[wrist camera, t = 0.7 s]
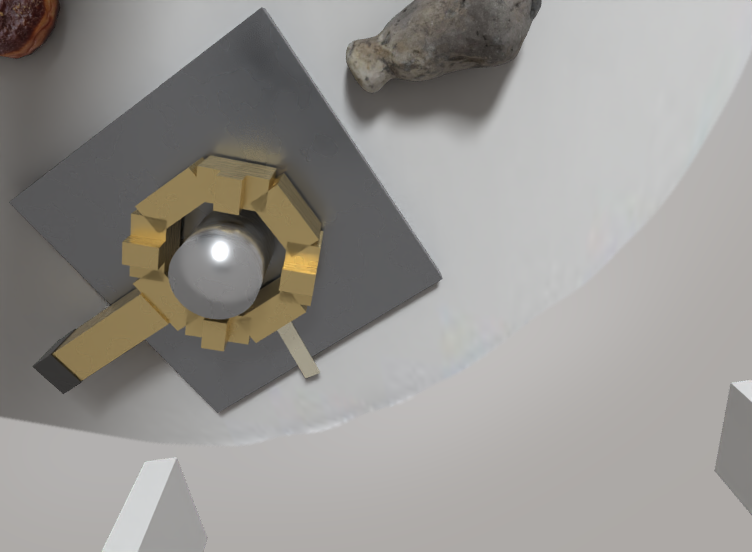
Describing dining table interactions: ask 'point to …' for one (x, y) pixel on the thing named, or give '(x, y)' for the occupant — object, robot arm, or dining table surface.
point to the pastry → (25, 25)
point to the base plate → (249, 130)
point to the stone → (441, 40)
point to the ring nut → (159, 244)
